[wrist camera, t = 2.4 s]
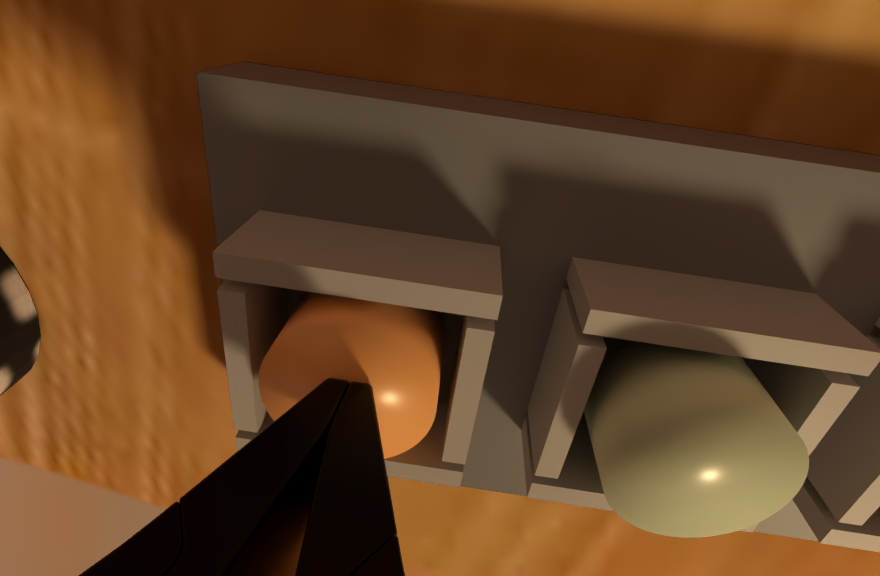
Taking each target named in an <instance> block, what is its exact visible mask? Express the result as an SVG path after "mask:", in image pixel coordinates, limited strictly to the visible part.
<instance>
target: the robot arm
mask: <svg viewBox="0 0 880 576" xmlns="http://www.w3.org/2000/svg"><path fill="white" fill-rule="evenodd" d="M79 576H405V573H404V568H403V563H402V558H401V552H400V546H399V540H398V537H397V530H396V524H395V518H394V512H393V506H392V500H391V495H390V489H389V483H388V477H387V471H386V465H385V459H384V453H383V447H382V442H381V436H380V430H379V424H378V418H377V412H376V406H375V400H374V394H373V388H372V386H371V384H368V383H361V382H355V381H353V382H351V383H350V384H349V382H348V381H347V380H342V379H335V378H328V379H326V380H324V381H323V382H322V383H321V384H319V385H318V386H317V387H316V388H315V389H313V390H312V391H311V392H310V393H308V394H307V395H306V396H305V397H304V398H302V399H301V400H300V401H299V402H297V403H296V404H295V405H294V406H293V407H291V408H290V409H289V410H288V411H286V412H285V413H284V414H283V415H282V416H280V417H279V418H278V419H277V420H275V421H274V422H273V423H272V424H271V425H269V426H268V427H267V428H266V429H264V430H263V431H262V432H261V433H260V434H258V435H257V436H256V437H255V438H253V439H252V440H251V441H250V442H248V443H247V444H246V445H245V446H244V447H242V448H241V449H240V450H239V451H237V452H236V453H235V454H234V455H233V456H231V457H230V458H229V459H228V460H226V461H225V462H224V463H223V464H222V465H220V466H219V467H218V468H217V469H215V470H214V471H213V472H212V473H211V474H209V475H208V476H207V477H206V478H204V479H203V480H202V481H201V482H200V483H198V484H197V485H196V486H195V487H193V488H192V489H191V490H190V491H189V492H187V493H186V494H185V495H184V496H182V497H181V498H180V504H179V502H175V503H174V504H172V505H171V506H170V507H169V508H167V509H166V510H165V511H164V512H163V513H161V514H160V515H159V516H158V517H156V518H155V519H154V520H153V521H152V522H150V523H149V524H148V525H146V526H145V527H144V528H142V529H141V530H140V531H139V532H137V533H136V534H135V535H133V536H132V537H131V538H130V539H128V540H127V541H126V542H125V543H123V544H122V545H121V546H119V547H118V548H116V549H115V550H114V551H112V552H111V553H110V554H108V555H107V556H105V557H104V558H102V559H101V560H100V561H98V562H97V563H95V564H94V565H93V566H91V567H90V568H89V569H87V570H86V571H84V572H83V573H82V574H80V575H79Z"/></svg>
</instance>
